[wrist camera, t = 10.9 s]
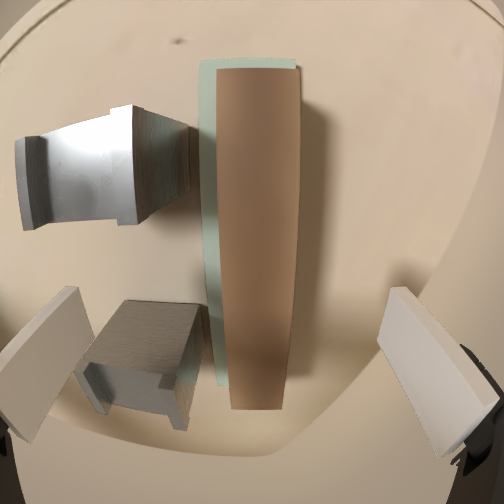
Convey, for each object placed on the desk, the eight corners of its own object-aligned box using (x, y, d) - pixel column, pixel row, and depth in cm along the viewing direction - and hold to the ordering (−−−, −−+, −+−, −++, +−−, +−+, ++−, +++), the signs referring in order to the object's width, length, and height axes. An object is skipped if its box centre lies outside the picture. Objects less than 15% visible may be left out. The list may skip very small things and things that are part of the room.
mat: (218, 380, 22) (217, 385, 21) (201, 63, 13) (199, 60, 12) (281, 381, 21) (281, 386, 21) (294, 62, 13) (295, 59, 12)
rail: (235, 370, 20) (231, 409, 17) (226, 88, 13) (216, 69, 9) (278, 370, 20) (281, 409, 16) (289, 89, 13) (299, 69, 9)
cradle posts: (134, 340, 20) (96, 412, 13) (101, 137, 15) (14, 141, 7) (205, 347, 20) (186, 431, 13) (190, 124, 14) (132, 105, 7)
